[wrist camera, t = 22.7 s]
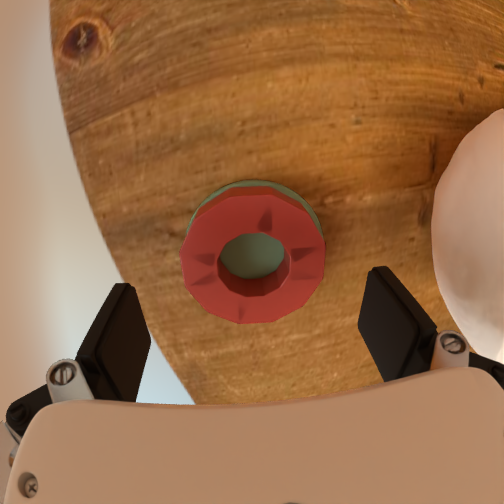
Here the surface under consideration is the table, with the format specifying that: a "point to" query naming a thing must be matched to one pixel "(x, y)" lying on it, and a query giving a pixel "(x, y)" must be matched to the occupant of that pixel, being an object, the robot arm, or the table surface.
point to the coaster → (255, 239)
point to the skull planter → (473, 237)
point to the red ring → (245, 222)
